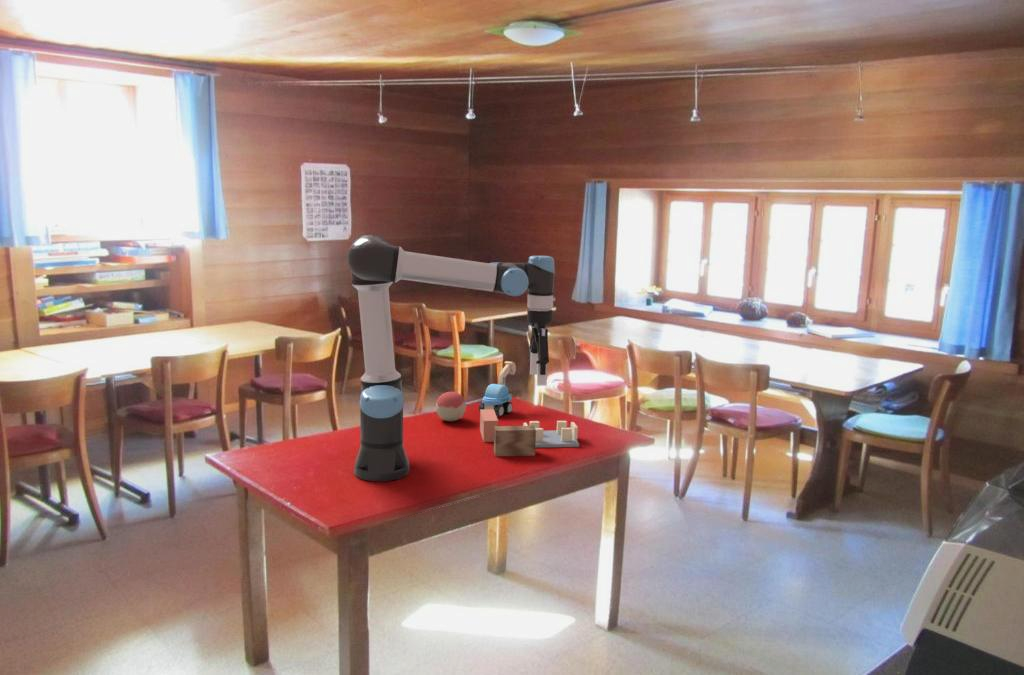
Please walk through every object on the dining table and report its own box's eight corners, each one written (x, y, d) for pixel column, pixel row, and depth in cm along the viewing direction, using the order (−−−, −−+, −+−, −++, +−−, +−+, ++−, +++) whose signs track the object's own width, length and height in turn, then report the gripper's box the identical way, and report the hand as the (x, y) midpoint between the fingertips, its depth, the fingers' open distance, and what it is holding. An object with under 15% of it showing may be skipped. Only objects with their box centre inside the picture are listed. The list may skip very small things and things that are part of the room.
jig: (527, 447, 247) (527, 432, 246) (521, 433, 260) (521, 419, 260) (579, 446, 249) (580, 431, 248) (570, 433, 263) (571, 418, 262)
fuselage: (495, 456, 238) (495, 430, 237) (493, 451, 243) (494, 426, 241) (535, 455, 240) (535, 430, 238) (532, 450, 244) (533, 425, 243)
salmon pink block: (483, 442, 251) (483, 420, 250) (479, 429, 264) (480, 409, 263) (497, 442, 252) (498, 420, 251) (493, 429, 265) (493, 409, 263)
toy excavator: (522, 408, 291) (524, 362, 288) (497, 418, 277) (498, 370, 274) (502, 404, 295) (504, 359, 292) (477, 414, 282) (477, 367, 278)
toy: (469, 416, 279) (470, 388, 277) (461, 425, 267) (461, 397, 266) (442, 414, 281) (442, 386, 279) (432, 423, 269) (432, 394, 267)
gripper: (560, 315, 222) (558, 390, 226) (545, 302, 246) (543, 370, 250) (534, 315, 221) (531, 390, 225) (521, 302, 245) (519, 370, 249)
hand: (538, 379), depth 238 cm, fingers open, 13 cm apart
